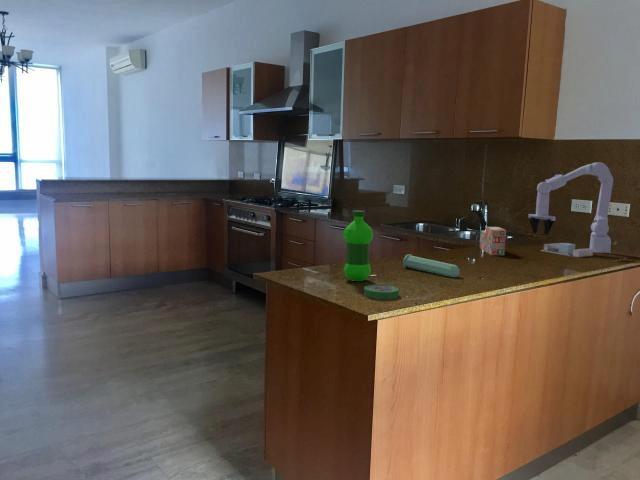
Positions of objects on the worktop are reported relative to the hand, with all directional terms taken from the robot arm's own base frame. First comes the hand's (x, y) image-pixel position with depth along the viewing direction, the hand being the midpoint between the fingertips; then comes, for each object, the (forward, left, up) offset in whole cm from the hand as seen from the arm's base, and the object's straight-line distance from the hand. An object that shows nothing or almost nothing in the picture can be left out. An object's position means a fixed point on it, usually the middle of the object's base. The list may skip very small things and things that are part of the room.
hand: (540, 233), depth 273 cm
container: (+87, +21, -9) cm, 90 cm away
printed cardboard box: (+26, -7, -9) cm, 28 cm away
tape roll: (+127, +44, -9) cm, 135 cm away
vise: (0, +16, -8) cm, 18 cm away
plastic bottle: (+122, +22, -9) cm, 124 cm away
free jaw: (0, +7, -7) cm, 10 cm away
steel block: (0, +16, -7) cm, 17 cm away
